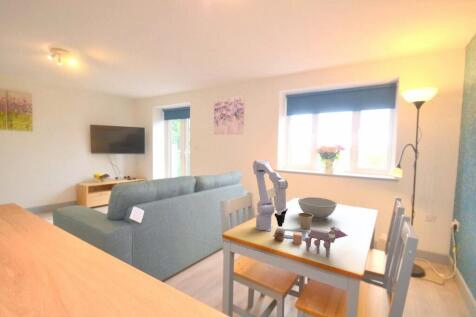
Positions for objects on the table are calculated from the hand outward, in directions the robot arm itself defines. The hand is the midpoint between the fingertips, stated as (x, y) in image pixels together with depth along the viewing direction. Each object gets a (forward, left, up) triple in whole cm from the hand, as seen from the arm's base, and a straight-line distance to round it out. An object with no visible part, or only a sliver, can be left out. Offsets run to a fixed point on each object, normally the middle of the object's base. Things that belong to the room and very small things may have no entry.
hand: (281, 224), depth 132 cm
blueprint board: (+4, +10, -9) cm, 14 cm away
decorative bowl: (+19, +48, -9) cm, 52 cm away
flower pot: (+12, +24, -9) cm, 28 cm away
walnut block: (-1, 0, -9) cm, 9 cm away
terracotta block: (+9, 0, -9) cm, 13 cm away
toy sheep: (+24, -8, -9) cm, 27 cm away
